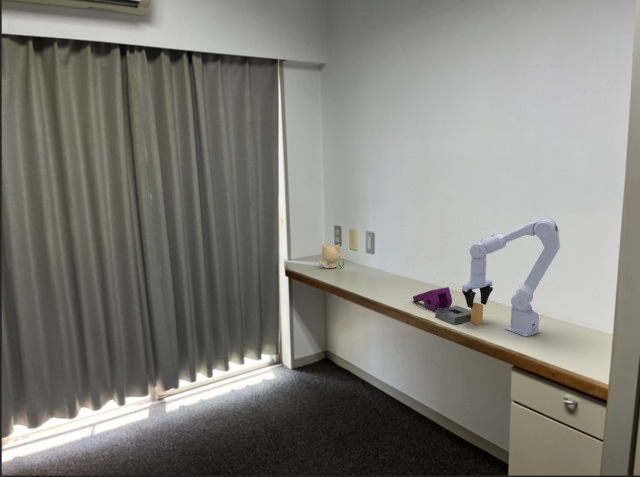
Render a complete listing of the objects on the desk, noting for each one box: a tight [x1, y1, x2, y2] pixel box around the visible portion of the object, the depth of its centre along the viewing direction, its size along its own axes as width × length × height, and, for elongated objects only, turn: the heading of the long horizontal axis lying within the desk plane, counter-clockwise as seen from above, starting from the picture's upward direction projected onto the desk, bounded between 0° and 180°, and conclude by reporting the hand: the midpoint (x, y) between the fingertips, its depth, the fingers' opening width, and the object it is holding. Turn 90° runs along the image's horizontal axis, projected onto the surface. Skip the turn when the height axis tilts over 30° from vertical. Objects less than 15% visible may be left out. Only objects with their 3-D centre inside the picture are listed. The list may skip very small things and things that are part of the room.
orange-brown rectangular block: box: [470, 301, 484, 326], centre depth 188 cm, size 4×2×8 cm, turn 29°
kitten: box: [318, 243, 345, 269], centre depth 285 cm, size 15×10×15 cm
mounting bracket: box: [412, 286, 453, 312], centre depth 211 cm, size 9×8×18 cm
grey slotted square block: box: [434, 304, 471, 326], centre depth 194 cm, size 11×12×3 cm
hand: (476, 305), depth 187 cm, fingers open, 7 cm apart
